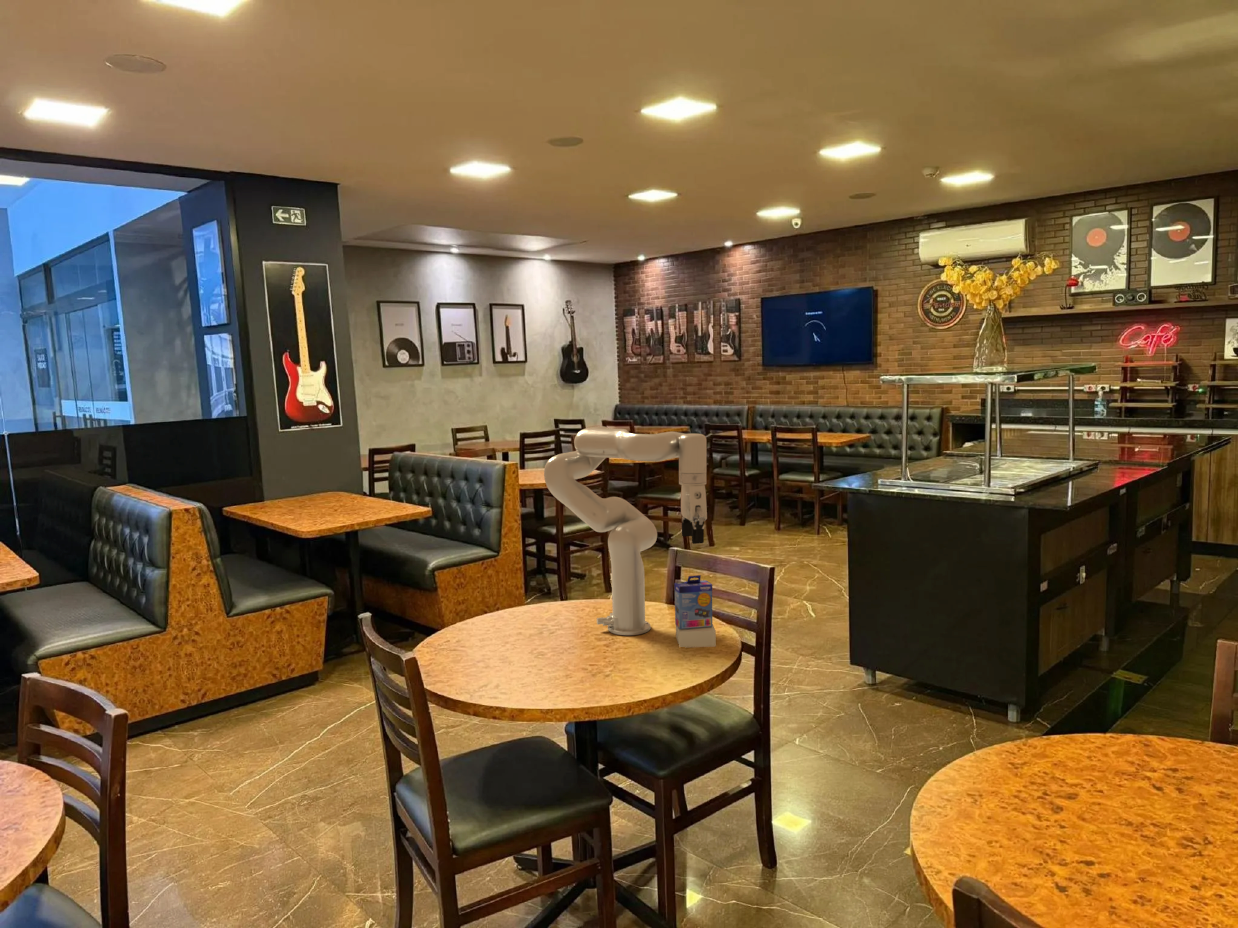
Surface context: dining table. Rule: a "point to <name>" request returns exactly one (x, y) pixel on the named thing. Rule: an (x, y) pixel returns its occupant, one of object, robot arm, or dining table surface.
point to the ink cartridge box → (693, 603)
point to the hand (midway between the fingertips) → (692, 539)
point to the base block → (696, 637)
